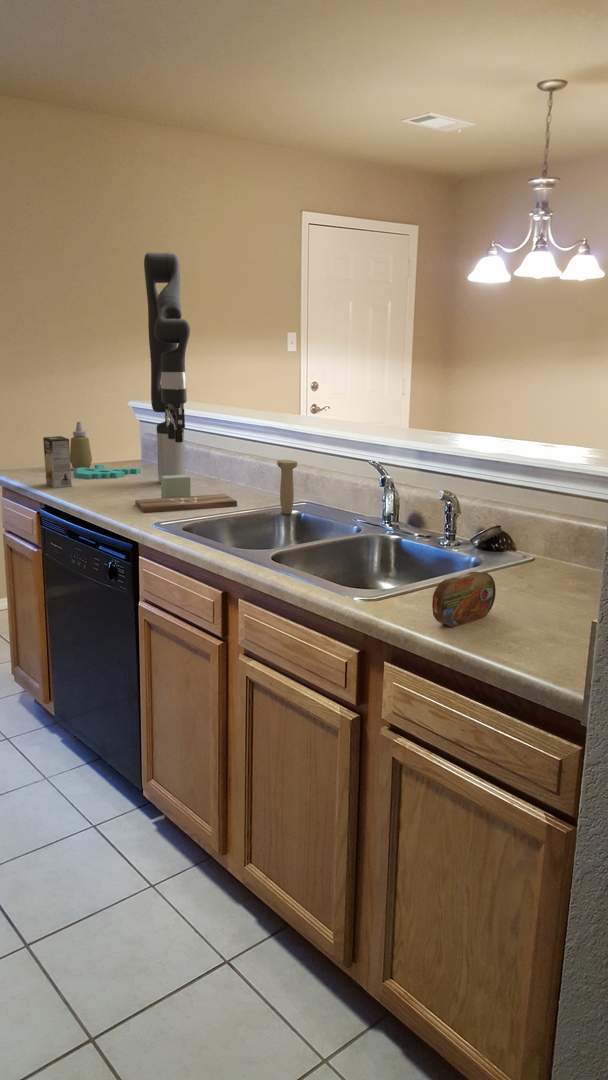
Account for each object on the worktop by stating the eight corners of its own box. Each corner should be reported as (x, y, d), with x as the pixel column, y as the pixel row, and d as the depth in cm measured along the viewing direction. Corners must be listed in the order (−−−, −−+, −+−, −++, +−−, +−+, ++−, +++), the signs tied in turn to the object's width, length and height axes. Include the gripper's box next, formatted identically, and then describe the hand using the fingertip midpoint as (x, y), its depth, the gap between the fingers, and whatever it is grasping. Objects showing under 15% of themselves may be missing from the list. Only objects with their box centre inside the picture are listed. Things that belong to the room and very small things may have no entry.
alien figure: (99, 470, 307) (60, 477, 290) (98, 464, 307) (60, 471, 290) (140, 474, 298) (103, 482, 281) (140, 468, 298) (103, 475, 281)
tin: (441, 631, 138) (444, 584, 136) (427, 626, 140) (429, 580, 138) (495, 614, 147) (498, 569, 145) (481, 609, 150) (484, 566, 148)
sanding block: (161, 498, 252) (160, 475, 250) (186, 496, 255) (185, 474, 253) (165, 500, 248) (164, 478, 246) (190, 499, 251) (190, 477, 249)
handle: (285, 516, 227) (286, 463, 224) (273, 512, 232) (273, 460, 229) (299, 514, 230) (300, 462, 226) (287, 510, 235) (288, 459, 231)
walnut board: (135, 504, 241) (134, 499, 240) (224, 498, 251) (224, 493, 251) (143, 512, 230) (143, 507, 230) (237, 505, 241) (236, 500, 240)
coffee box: (45, 484, 273) (42, 436, 270) (64, 482, 277) (61, 435, 273) (53, 488, 266) (50, 439, 262) (72, 486, 270) (70, 438, 266)
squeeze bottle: (66, 470, 301) (63, 422, 297) (76, 467, 309) (73, 420, 305) (87, 471, 300) (84, 423, 296) (95, 468, 308) (93, 421, 304)
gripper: (155, 385, 248) (157, 438, 252) (167, 388, 235) (169, 444, 239) (179, 385, 251) (181, 437, 255) (192, 388, 238) (193, 443, 242)
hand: (175, 440), depth 247 cm, fingers open, 8 cm apart
